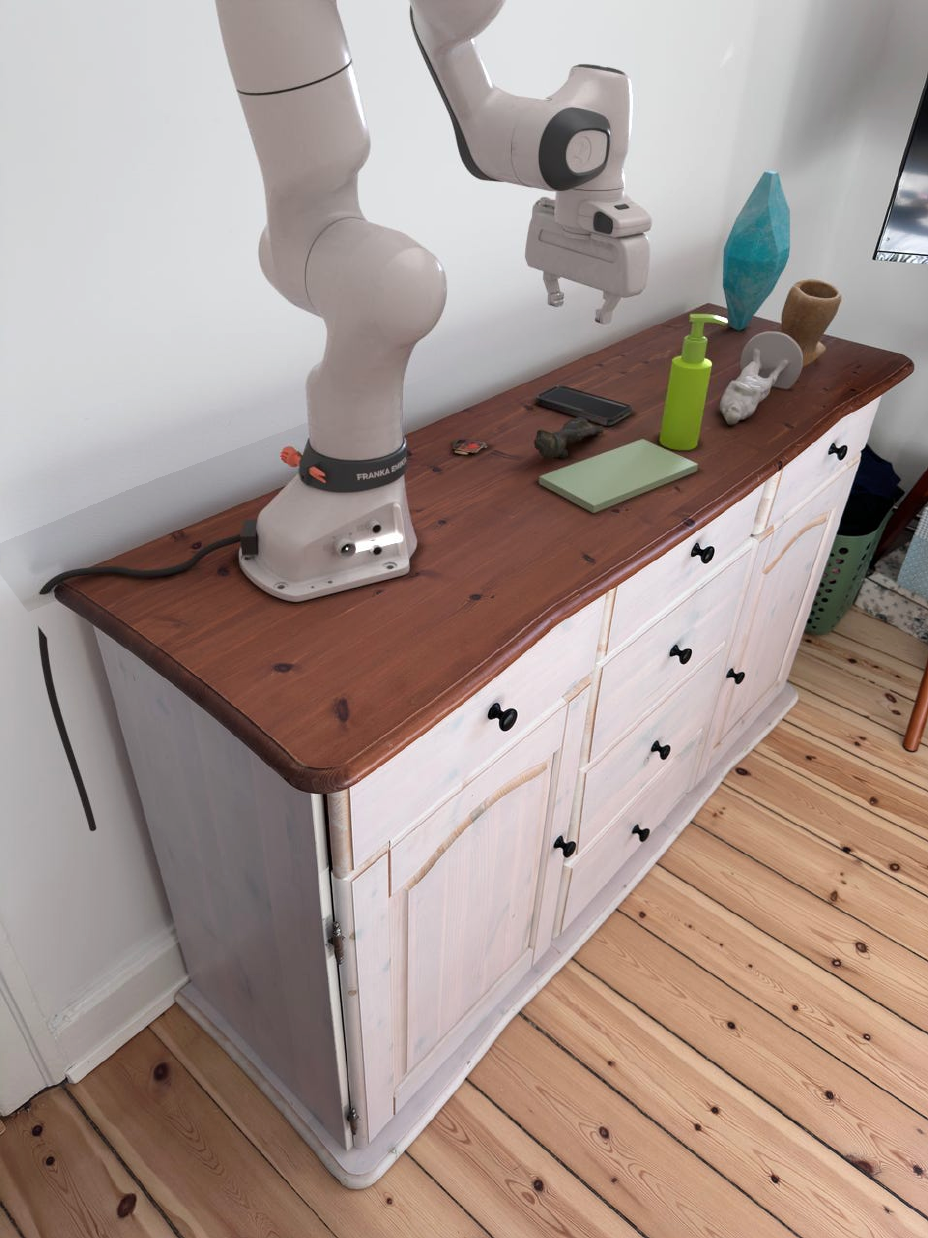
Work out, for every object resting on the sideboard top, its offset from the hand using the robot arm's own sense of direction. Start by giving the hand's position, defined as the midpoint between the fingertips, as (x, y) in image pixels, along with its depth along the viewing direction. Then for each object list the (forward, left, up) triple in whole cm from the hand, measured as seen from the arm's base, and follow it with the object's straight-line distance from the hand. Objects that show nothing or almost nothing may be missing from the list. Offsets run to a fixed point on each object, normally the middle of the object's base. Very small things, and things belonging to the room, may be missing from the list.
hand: (578, 313), depth 129 cm
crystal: (+74, +23, -22) cm, 80 cm away
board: (+1, -11, -21) cm, 24 cm away
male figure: (+40, -4, -22) cm, 46 cm away
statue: (0, 0, -22) cm, 22 cm away
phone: (+15, +11, -21) cm, 28 cm away
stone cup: (+66, +4, -22) cm, 69 cm away
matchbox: (-11, +10, -21) cm, 26 cm away
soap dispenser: (+18, -8, -22) cm, 29 cm away
